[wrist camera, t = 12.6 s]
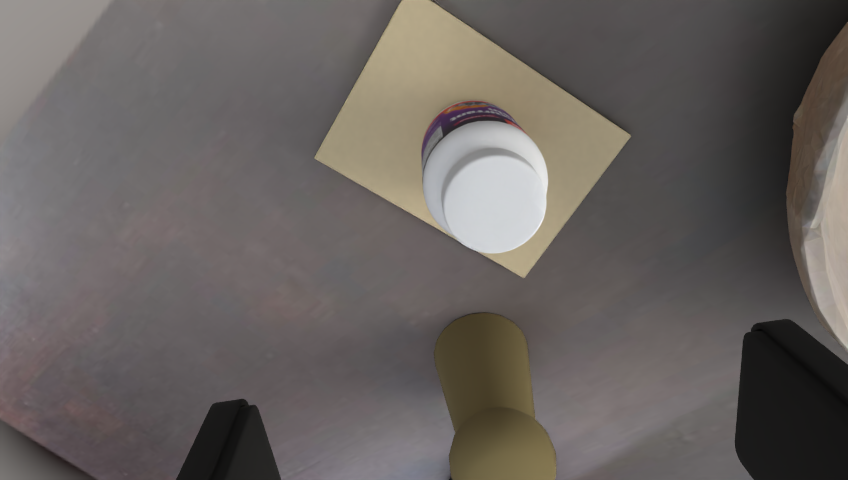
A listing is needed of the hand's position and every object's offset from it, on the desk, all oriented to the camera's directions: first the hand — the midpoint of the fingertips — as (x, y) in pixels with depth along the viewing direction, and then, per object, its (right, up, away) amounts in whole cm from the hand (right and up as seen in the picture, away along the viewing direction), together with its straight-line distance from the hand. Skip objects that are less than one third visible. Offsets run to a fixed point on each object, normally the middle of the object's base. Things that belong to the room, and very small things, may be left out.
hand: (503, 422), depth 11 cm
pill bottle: (+1, +9, +20) cm, 22 cm away
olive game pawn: (+2, -4, +26) cm, 26 cm away
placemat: (+1, +9, +20) cm, 22 cm away
